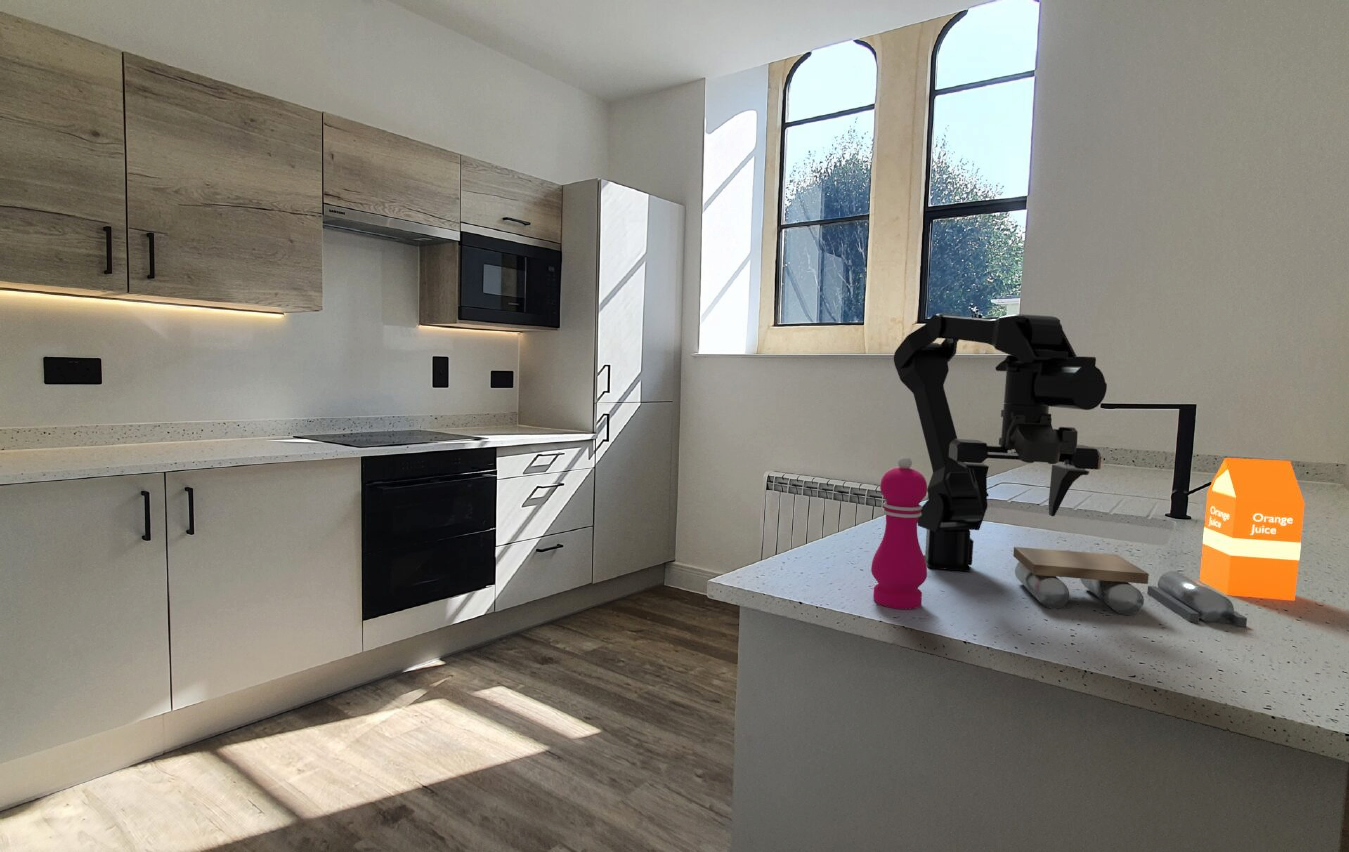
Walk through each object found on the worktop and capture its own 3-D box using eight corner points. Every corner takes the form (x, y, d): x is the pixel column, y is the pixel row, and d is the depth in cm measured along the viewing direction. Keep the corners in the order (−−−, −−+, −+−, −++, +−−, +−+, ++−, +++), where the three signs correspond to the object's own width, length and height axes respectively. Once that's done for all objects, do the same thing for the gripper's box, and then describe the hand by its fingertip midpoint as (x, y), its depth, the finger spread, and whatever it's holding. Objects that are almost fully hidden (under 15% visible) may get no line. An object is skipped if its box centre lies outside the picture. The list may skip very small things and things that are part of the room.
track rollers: (1036, 606, 94) (1038, 578, 94) (1014, 583, 105) (1015, 557, 105) (1142, 616, 92) (1145, 586, 91) (1108, 591, 102) (1110, 564, 102)
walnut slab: (1033, 574, 95) (1034, 564, 94) (1013, 556, 104) (1014, 546, 104) (1147, 583, 92) (1148, 573, 92) (1116, 564, 102) (1117, 554, 101)
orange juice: (1295, 600, 101) (1309, 464, 99) (1226, 595, 102) (1239, 460, 101) (1262, 585, 108) (1274, 458, 107) (1198, 580, 110) (1209, 455, 109)
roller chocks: (1189, 621, 90) (1190, 612, 90) (1147, 593, 102) (1147, 585, 102) (1246, 627, 89) (1247, 617, 89) (1196, 597, 101) (1197, 589, 100)
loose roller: (1156, 597, 101) (1158, 570, 101) (1187, 599, 100) (1189, 572, 100) (1197, 623, 90) (1200, 593, 90) (1232, 626, 90) (1235, 596, 89)
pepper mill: (882, 590, 100) (889, 452, 98) (932, 601, 95) (941, 457, 94) (860, 601, 94) (868, 455, 93) (913, 614, 90) (922, 461, 88)
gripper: (971, 405, 91) (962, 521, 93) (1125, 411, 88) (1114, 531, 90) (951, 400, 102) (944, 504, 104) (1088, 406, 99) (1078, 513, 101)
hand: (1017, 513), depth 99 cm, fingers open, 9 cm apart
